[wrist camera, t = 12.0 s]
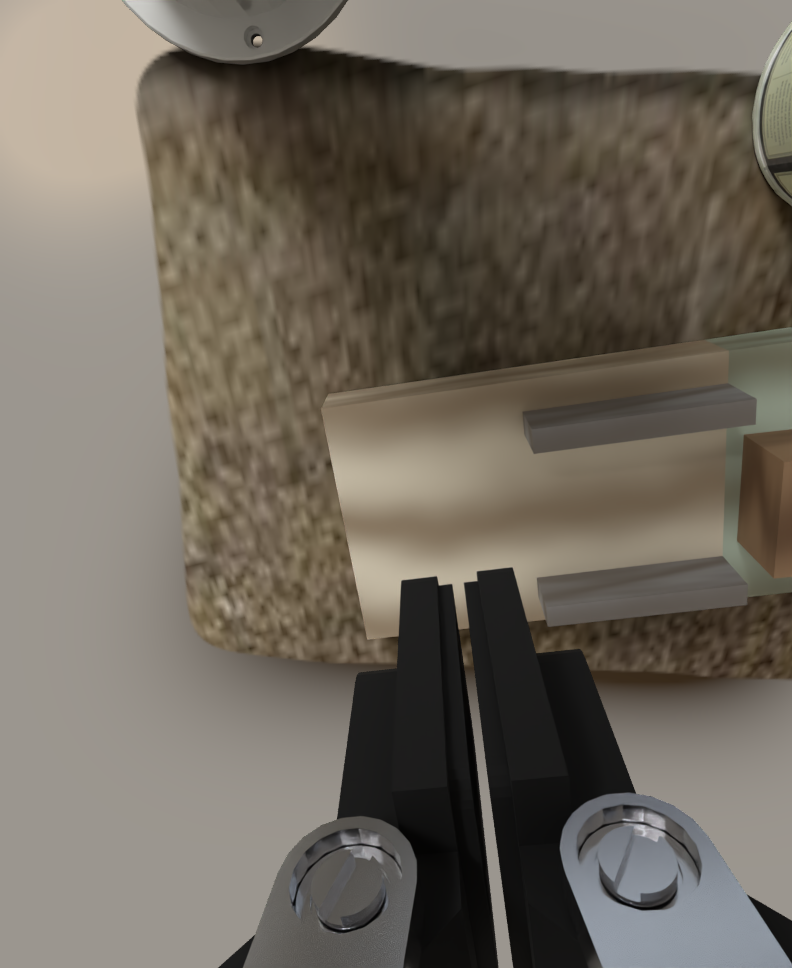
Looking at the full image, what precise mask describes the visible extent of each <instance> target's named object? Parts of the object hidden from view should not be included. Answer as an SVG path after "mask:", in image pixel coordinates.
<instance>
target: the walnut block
mask: <svg viewBox="0 0 792 968" xmlns="http://www.w3.org/2000/svg"><path fill="white" fill-rule="evenodd" d="M737 541H738V542H739V543H740V544H741V545H742V547H743V548H744V549H745V550H746V551H747V552H748V553H749V554H750V555H751V556H752V557H753V558H754V559H755V560H756V561H757V562H758V563H759V564H760V565H761V566H762V567H763V568H764V569H765V570H766V571H767V572H768V573H769V574H770V575H771V576H772V577H773V578H774V579H775V578H785V577H792V429H789V430H780V431H771V432H762V433H753V434H744V439H743V454H742V470H741V485H740V500H739V516H738V531H737Z"/></svg>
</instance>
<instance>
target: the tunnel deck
mask: <svg viewBox="0 0 792 968" xmlns="http://www.w3.org/2000/svg"><path fill="white" fill-rule="evenodd" d="M321 412H322V417H323V422H324V427H325V432H326V437H327V441H328V446H329V451H330V456H331V461H332V466H333V471H334V476H335V481H336V486H337V491H338V496H339V501H340V506H341V511H342V516H343V521H344V526H345V531H346V536H347V541H348V546H349V551H350V556H351V561H352V566H353V570H354V575H355V580H356V585H357V590H358V595H359V600H360V605H361V610H362V615H363V620H364V625H365V630H366V635H367V640H369V639H377V638H386V637H395V636H399V616H400V594H401V581H402V580H408V579H417V578H425V577H434V576H437V578H438V583H439V585H447V584H452V586H453V592H454V599H455V606H456V614H457V621H458V628H459V629H467V628H469V622H468V614H467V606H466V597H465V589H464V582H473V581H477V571H484V570H493V569H501V568H509V567H513V570H514V574H515V577H516V581H517V585H518V588H519V592H520V596H521V600H522V603H523V607H524V611H525V615H526V618H527V622H530V621H539V620H546V622H547V625H548V627H552V626H561V625H570V624H579V623H588V622H597V621H606V620H615V619H624V618H633V617H642V616H651V615H660V614H669V613H678V612H687V611H696V610H706V609H715V608H724V607H733V606H742V605H747V597H754V596H763V595H772V594H781V593H789V592H792V577H785V578H775V579H774V578H773V577H772V576H771V575H770V574H769V573H768V572H767V571H766V570H765V569H764V568H763V567H762V566H761V565H760V564H759V563H758V562H757V561H756V560H755V559H754V558H753V557H752V556H751V555H750V554H749V553H748V552H747V551H746V550H745V549H744V548H743V547H742V545H741V544H740V543H739V542H738V541H737V531H738V516H739V500H740V485H741V470H742V454H743V439H744V434H753V433H762V432H771V431H780V430H789V429H792V327H789V328H782V329H775V330H769V331H762V332H755V333H748V334H741V335H734V336H727V337H720V338H713V339H706V340H699V341H692V342H685V343H678V344H671V345H665V346H658V347H651V348H644V349H637V350H630V351H623V352H616V353H609V354H602V355H595V356H588V357H581V358H574V359H567V360H560V361H554V362H547V363H540V364H533V365H526V366H519V367H512V368H505V369H498V370H491V371H484V372H477V373H470V374H463V375H456V376H450V377H443V378H436V379H429V380H422V381H415V382H408V383H401V384H394V385H387V386H380V387H373V388H366V389H359V390H352V391H346V392H339V393H332V394H328V396H327V398H326V400H325V402H324V404H323V406H322V408H321Z"/></svg>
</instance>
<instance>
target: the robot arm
mask: <svg viewBox="0 0 792 968" xmlns="http://www.w3.org/2000/svg"><path fill="white" fill-rule="evenodd" d="M122 1H123V2H124V4H125V5H126V6H127V7H128V8H129V9H130V10H131V11H132V12H133V13H134V14H135V15H136V16H137V17H138V18H139V19H140V20H141V21H142V22H143V23H144V24H145V25H147V27H149V28H150V29H151V30H153V31H154V32H155V33H157V34H158V35H160V36H161V37H163V38H164V39H165V40H167V41H168V42H170V43H172V44H174V45H175V46H177V47H179V48H181V49H183V50H185V51H186V52H188V53H190V54H192V55H195V56H199V57H202V58H205V59H208V60H211V61H214V62H219V63H230V64H241V65H245V64H252V63H260V62H268V61H271V60H274V59H276V58H279V57H282V56H284V55H287V54H290V53H293V52H294V51H296V50H297V49H299V48H301V47H302V46H304V45H305V44H307V43H308V42H310V41H311V40H313V39H314V38H316V37H317V36H318V35H319V34H320V33H321V32H322V31H323V30H324V29H325V28H326V27H327V26H328V25H329V24H330V23H331V22H332V21H333V20H334V19H335V18H336V17H337V15H338V14H339V13H340V11H341V10H342V8H343V7H344V5H345V4H346V2H347V1H348V0H122ZM256 36H261V37H262V39H263V43H262V45H261V46H260V47H258V48H257V47H254V45H253V40H254V38H255V37H256ZM464 589H465V597H466V606H467V614H468V622H469V630H470V638H471V646H472V654H473V662H474V670H475V678H476V686H477V694H478V702H479V710H480V718H481V727H482V735H483V742H484V751H485V759H486V767H487V775H488V782H489V790H490V798H491V804H492V812H493V820H494V827H495V835H496V843H497V849H498V857H499V865H500V872H501V879H502V887H503V894H504V902H505V909H506V916H507V924H508V932H509V939H510V947H511V954H512V962H513V968H792V921H791V920H790V919H788V918H786V917H785V916H783V915H781V914H779V913H778V912H776V911H774V910H772V909H771V908H769V907H767V906H766V905H764V904H762V903H761V902H759V901H757V900H755V899H754V898H752V897H750V896H749V895H747V894H746V893H745V892H744V890H743V889H742V887H741V886H740V884H739V883H738V881H737V879H736V878H735V876H734V875H733V873H732V872H731V870H730V869H729V867H728V866H727V864H726V863H725V861H724V859H723V858H722V856H721V855H720V853H719V852H718V850H717V849H716V847H715V846H714V844H713V843H712V841H711V840H710V838H709V837H708V836H707V834H706V833H705V832H704V831H703V830H702V829H701V828H700V827H699V825H698V824H697V823H696V822H695V821H694V820H693V819H692V818H691V817H689V816H688V815H686V814H685V813H684V812H682V811H681V810H679V809H678V808H676V807H675V806H674V805H671V804H669V803H666V802H664V801H661V800H659V799H656V798H654V797H651V796H646V795H640V794H636V792H635V790H634V787H633V784H632V781H631V779H630V776H629V773H628V771H627V768H626V765H625V763H624V760H623V758H622V755H621V752H620V749H619V747H618V744H617V742H616V739H615V737H614V734H613V731H612V728H611V726H610V723H609V720H608V718H607V715H606V712H605V710H604V707H603V705H602V702H601V699H600V696H599V694H598V691H597V689H596V686H595V683H594V680H593V678H592V675H591V672H590V670H589V667H588V664H587V662H586V659H585V657H584V655H583V652H582V651H581V650H580V649H574V650H565V651H555V652H546V653H537V654H536V652H535V648H534V644H533V641H532V637H531V633H530V629H529V626H528V622H527V618H526V615H525V611H524V607H523V603H522V600H521V596H520V592H519V588H518V585H517V581H516V577H515V574H514V570H513V567H509V568H501V569H493V570H484V571H477V581H473V582H464ZM219 968H498V959H497V950H496V940H495V931H494V922H493V912H492V903H491V893H490V884H489V875H488V866H487V856H486V846H485V838H484V828H483V819H482V809H481V800H480V790H479V781H478V771H477V762H476V753H475V744H474V736H473V728H472V720H471V713H470V706H469V699H468V692H467V685H466V678H465V671H464V663H463V656H462V649H461V642H460V635H459V628H458V621H457V614H456V606H455V599H454V592H453V586H452V584H447V585H439V583H438V578H437V576H434V577H425V578H417V579H408V580H402V581H401V594H400V616H399V638H398V659H397V669H389V670H379V671H369V672H361V673H358V675H357V677H356V682H355V688H354V696H353V704H352V711H351V718H350V726H349V734H348V741H347V749H346V756H345V763H344V771H343V779H342V786H341V793H340V801H339V808H338V816H337V820H335V821H332V822H329V823H326V824H324V825H321V826H320V827H318V828H317V829H315V830H314V831H312V832H311V833H309V834H308V835H306V836H305V837H303V838H302V839H301V840H300V841H299V843H298V844H297V845H296V846H295V847H294V848H293V849H292V850H291V851H290V852H289V854H288V855H287V857H286V859H285V861H284V862H283V864H282V866H281V868H280V870H279V872H278V874H277V877H276V879H275V882H274V885H273V888H272V890H271V893H270V896H269V898H268V901H267V904H266V907H265V909H264V912H263V915H262V918H261V920H260V923H259V926H258V929H257V931H256V934H255V935H254V936H253V937H252V938H251V939H250V940H249V941H248V942H246V943H245V944H244V945H243V946H242V947H241V948H240V949H239V950H238V951H236V952H235V953H234V954H233V955H232V956H231V957H230V958H229V959H227V960H226V961H225V962H224V963H223V964H222V965H221V966H220V967H219Z"/></svg>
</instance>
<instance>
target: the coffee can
mask: <svg viewBox="0 0 792 968" xmlns="http://www.w3.org/2000/svg"><path fill="white" fill-rule="evenodd" d="M752 121H753V141H754V148H755V153H756V157H757V160H758V163H759V166H760V168H761V171H762V173H763V174H764V176H765V178H766V180H767V181H768V183H769V184H770V186H771V187H772V188H773V190H774V191H775V193H776V194H777V195H779V196H780V197H781V198H782V199H783V200H785V201H786V202H787V203H788V204H790V205H791V206H792V22H791V23H790V24H789V26H788V27H787V29H786V30H785V31H784V33H783V34H782V36H781V37H780V38H779V40H778V42H777V43H776V45H775V47H774V48H773V50H772V52H771V54H770V56H769V58H768V60H767V62H766V64H765V67H764V69H763V72H762V75H761V77H760V80H759V84H758V87H757V91H756V96H755V103H754V107H753V112H752Z"/></svg>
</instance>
